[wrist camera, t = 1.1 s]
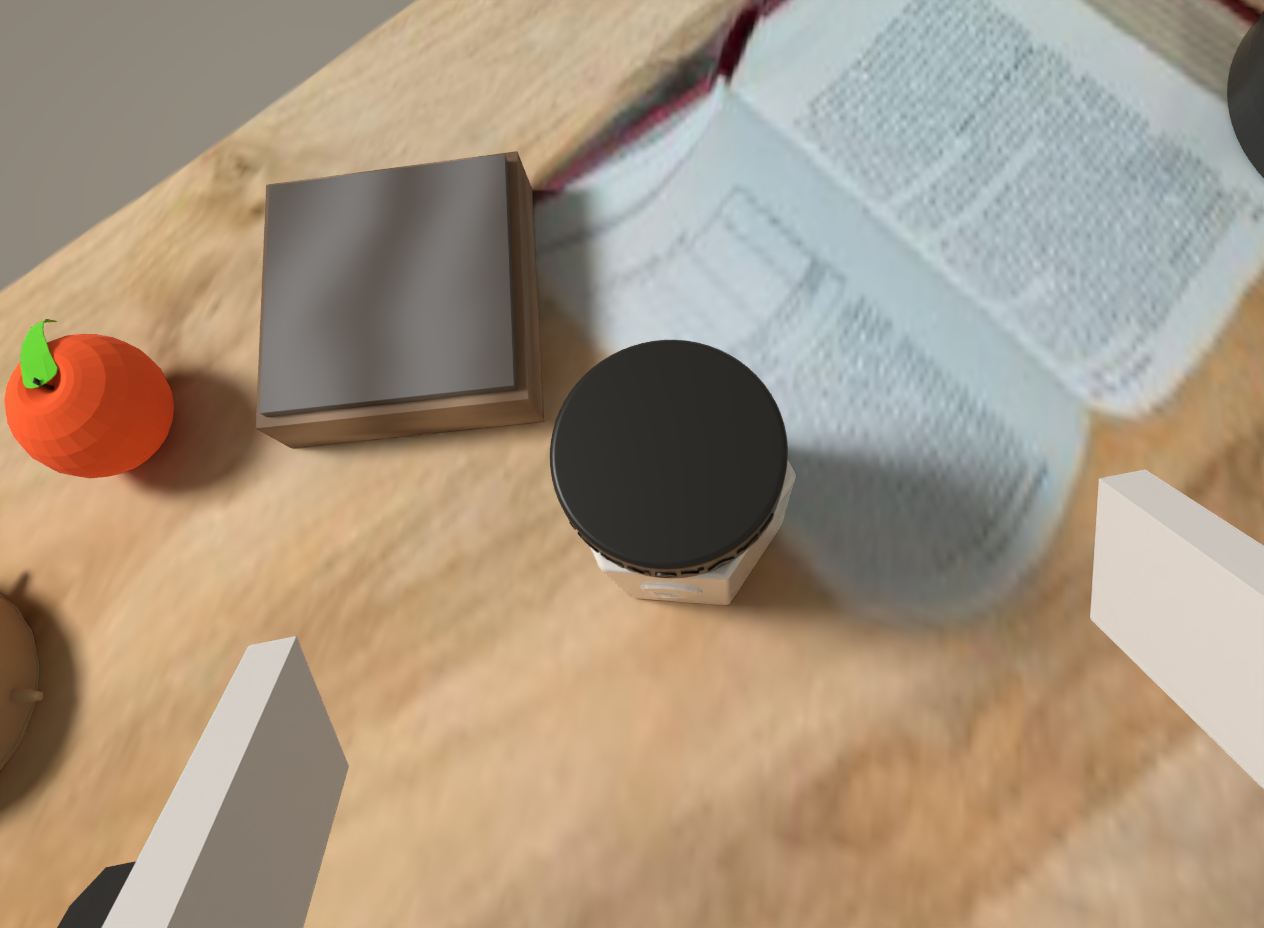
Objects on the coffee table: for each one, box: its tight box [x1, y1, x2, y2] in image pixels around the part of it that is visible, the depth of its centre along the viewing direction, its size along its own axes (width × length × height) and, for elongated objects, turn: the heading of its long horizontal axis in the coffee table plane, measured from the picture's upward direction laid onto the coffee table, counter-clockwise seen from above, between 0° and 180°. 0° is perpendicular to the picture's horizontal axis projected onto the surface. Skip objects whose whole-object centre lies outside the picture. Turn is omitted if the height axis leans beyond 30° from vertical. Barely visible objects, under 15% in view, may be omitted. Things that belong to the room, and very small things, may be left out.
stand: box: [256, 152, 544, 448], centre depth 43 cm, size 13×13×4 cm
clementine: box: [5, 319, 174, 478], centre depth 42 cm, size 8×7×7 cm
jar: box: [550, 340, 796, 605], centre depth 35 cm, size 9×8×12 cm
